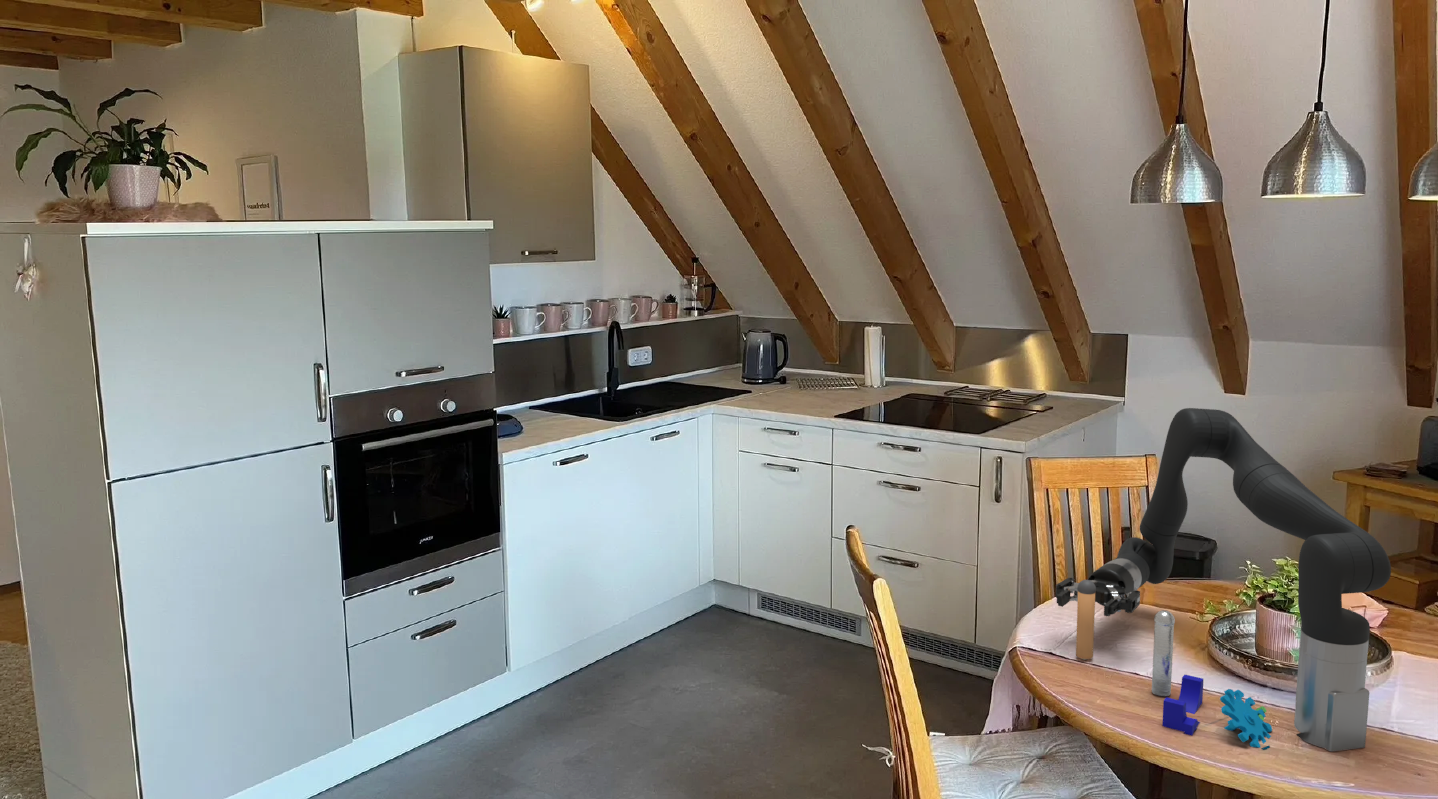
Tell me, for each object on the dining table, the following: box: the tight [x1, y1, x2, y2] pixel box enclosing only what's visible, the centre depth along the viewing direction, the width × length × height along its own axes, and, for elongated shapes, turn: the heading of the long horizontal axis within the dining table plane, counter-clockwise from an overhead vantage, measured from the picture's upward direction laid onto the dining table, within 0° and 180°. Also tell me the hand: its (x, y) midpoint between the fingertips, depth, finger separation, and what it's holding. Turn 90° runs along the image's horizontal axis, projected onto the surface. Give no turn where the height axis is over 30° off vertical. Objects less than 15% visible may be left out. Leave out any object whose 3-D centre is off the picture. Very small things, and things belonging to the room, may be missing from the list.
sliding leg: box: [1075, 579, 1096, 661], centre depth 195 cm, size 3×3×15 cm
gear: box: [1219, 688, 1273, 751], centre depth 169 cm, size 11×6×10 cm
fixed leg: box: [1151, 609, 1176, 697], centre depth 180 cm, size 3×3×15 cm
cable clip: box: [1161, 674, 1204, 737], centre depth 173 cm, size 12×4×6 cm, turn 142°
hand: (1082, 606), depth 193 cm, fingers open, 8 cm apart
